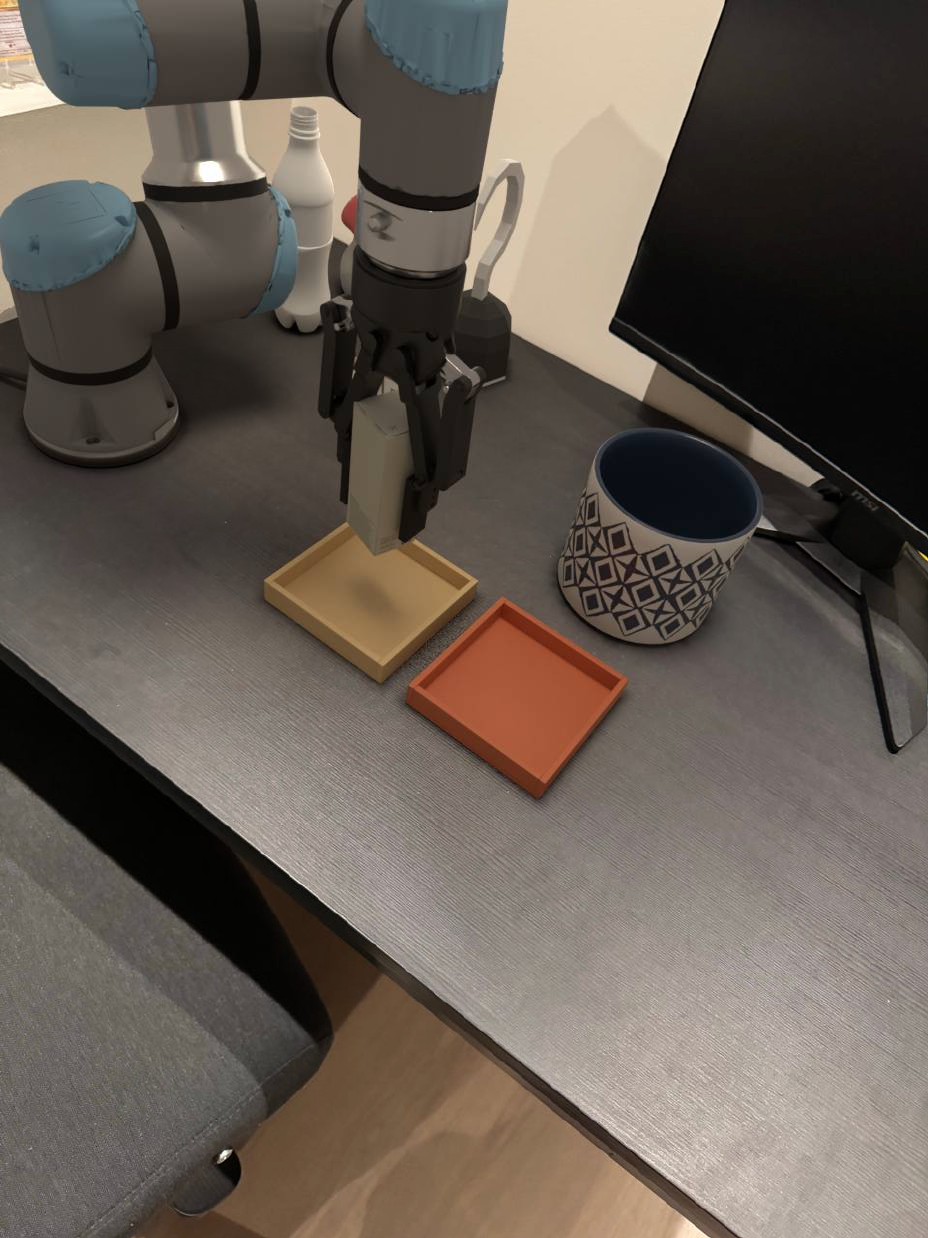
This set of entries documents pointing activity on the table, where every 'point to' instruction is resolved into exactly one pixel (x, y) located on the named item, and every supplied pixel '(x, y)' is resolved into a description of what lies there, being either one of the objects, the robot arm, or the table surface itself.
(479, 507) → the table surface
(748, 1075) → the table surface
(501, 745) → the terracotta tray
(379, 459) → the box
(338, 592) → the birch tray
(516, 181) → the hook
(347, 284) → the decorative ornament
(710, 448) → the planter
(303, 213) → the water bottle
